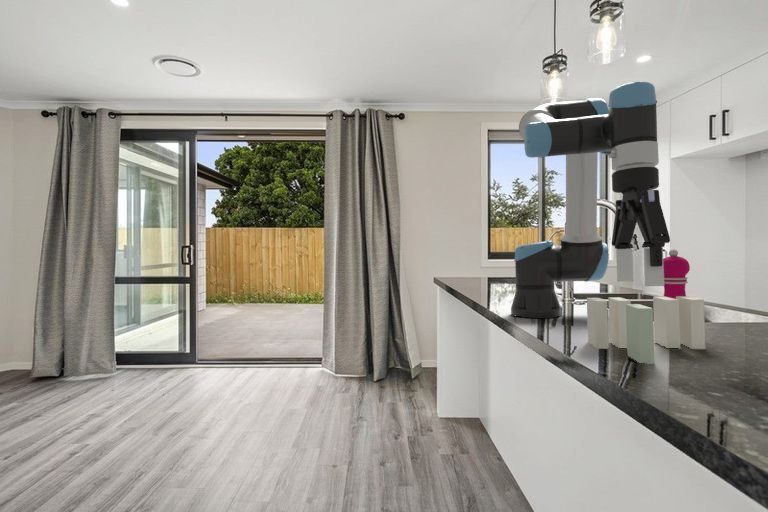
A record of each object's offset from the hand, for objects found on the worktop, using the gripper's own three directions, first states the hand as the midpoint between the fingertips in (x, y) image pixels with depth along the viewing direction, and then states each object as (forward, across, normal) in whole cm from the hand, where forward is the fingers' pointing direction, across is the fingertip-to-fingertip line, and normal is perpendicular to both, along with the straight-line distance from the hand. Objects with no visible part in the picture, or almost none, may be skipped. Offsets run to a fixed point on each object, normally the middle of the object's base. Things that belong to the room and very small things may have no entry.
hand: (638, 283), depth 80 cm
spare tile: (+14, 0, 0) cm, 14 cm away
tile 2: (+14, -12, 0) cm, 19 cm away
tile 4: (+14, -12, +10) cm, 21 cm away
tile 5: (+14, -12, +14) cm, 23 cm away
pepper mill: (+14, -24, +16) cm, 32 cm away
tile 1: (+14, -12, -4) cm, 19 cm away
